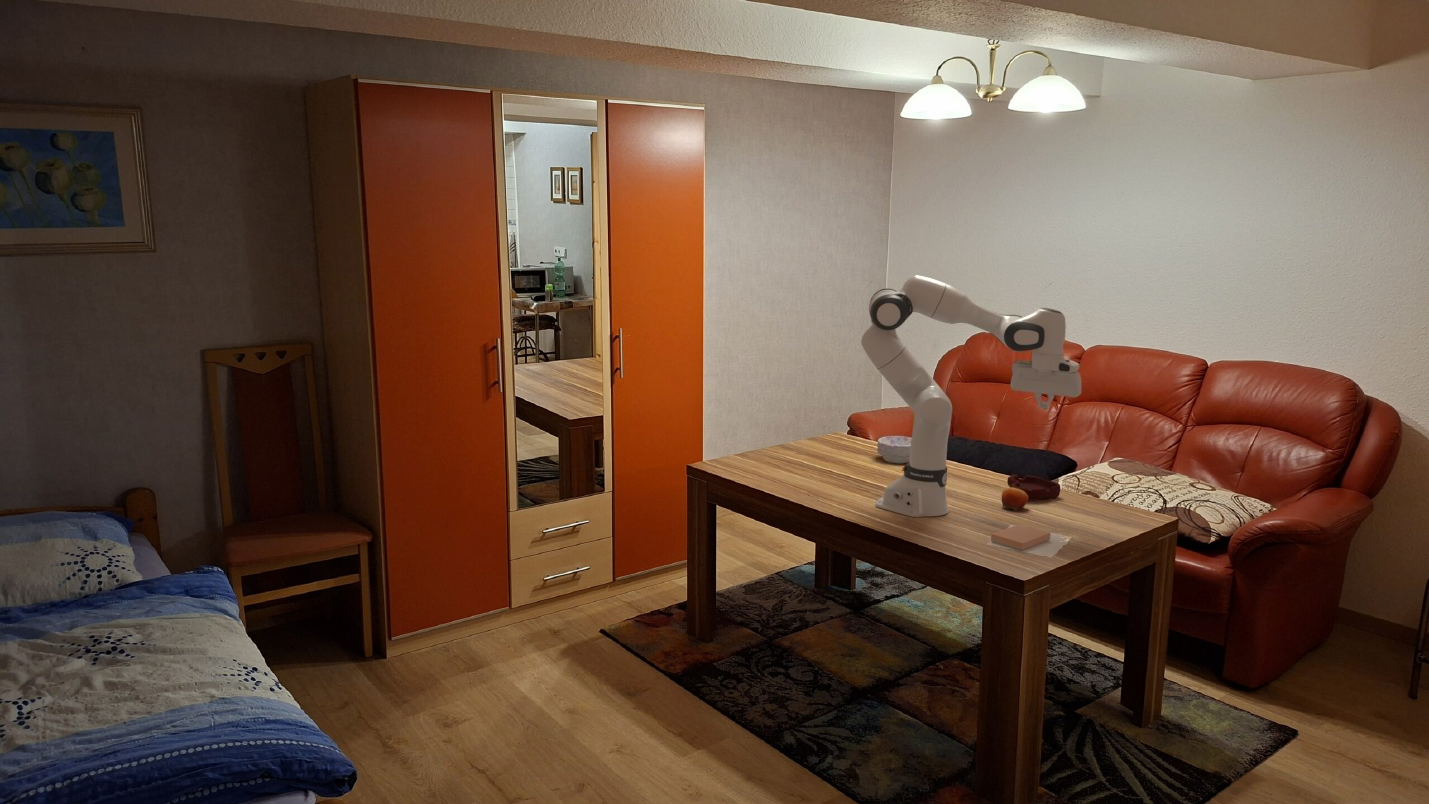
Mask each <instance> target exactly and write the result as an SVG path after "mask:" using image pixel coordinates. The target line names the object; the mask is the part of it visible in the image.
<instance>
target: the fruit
mask: <svg viewBox="0 0 1429 804" xmlns="http://www.w3.org/2000/svg"><path fill="white" fill-rule="evenodd" d="M1028 498H1029V497H1028V495H1027V494H1026V493H1025V492H1024V491H1022V490H1020V489H1017V488H1013V487H1011V488H1010V487H1009V488H1005V489H1003V490H1002V493H1001V503H1002V507H1003V508H1004V510H1007V509H1009V510H1010V509H1011V510H1013V511H1015V512H1017V511H1018V510H1020V511H1021V510H1022V509H1024V507H1025V506H1026V505H1027V503H1028V501H1029V500H1028Z"/></svg>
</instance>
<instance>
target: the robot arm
mask: <svg viewBox="0 0 1429 804" xmlns="http://www.w3.org/2000/svg"><path fill="white" fill-rule="evenodd" d="M869 300H870V301H869V304H868V305H869V306H868V313H869V317H870V321H871V325H870V327H869V328H868V329H867V330H865V332H864V333H863V334H862V336H861V341H860V343H861V346H862V348H863V350H864V352H865V354H866V355H867V357H868V359H869V360H870V361H871V362H872V364H873V366H874V367H875V368H876V369H877V370H878V371H879V373H880V374H881V375H882V377H883V378H885V380H886V381H887V382H888V384H889V385H890V386H891V388H893V389H894V391H895V392H896V393H897V394H898V395H899V396H900V397H901V399H903V401H904V402H905V403H906V404H907V405H908V406H909V408H910V409H911V410H912V412H913V415H914V416H913V426H912V434H911V437H910V438H911V449H910V462H908V463H906V465H904V466H903V467H902V468H901V472H903V475H901V476H900V477H898V478H896V479H894V480H893V481H892V482H890V483H888V485H887V486H886V487H885V490H884V492H883V493H884V494H883V496H882V497H880V498H878V499H877V500H876V503H875V506H876V507H877V508H880V509H884V510H887V511H890V512H894V513H898V514H901V515H905V516H908V517H912V518H921V517H939V516H944V515H947V514H948V513H949V512H950V510H949V507H948V501H947V500H948V499H947V491H946V486H947V482H948V467H947V453H948V442H949V440H948V439H949V435H950V430H951V425H952V424H951V422H952V415H953V405H952V402H951V400H950V398H949V397H948V395H947V394H946V393H945V391H943V388H941V387H940V385H939V384H938V383H937V382H936V380H935V379H934V378H933V377H932V375H931V374H930V373H929V372H928V371H927V370H926V368H924V365H922V364H921V363H920V361H919V360H918V359H917V358H916V357H915V355H914V354H913V353H912V351H910V349H909V348H908V346H907V345H905V344H906V343H904V342H903V341H902V340H901V338H900V337H899V335H898V333H897V331H896V329H898V328H900V327H901V326H902V325H903V324H904V323H905V322H906V321H907V319H908V318H910V316H911V315H912V314H913V313H917V314H918V313H919V314H922V315H924V316H926V317H928V318H930V319H932V320H934V321H938V322H942V323H945V324H949V325H954V324H961V323H962V324H967V325H971V326H973V327H975V328H978V329H981V330H983V331H985V332H987V333H990V334H991V335H993V336H994V337H996V339H997V340H998V341H999V342H1000V343H1001V344H1002V345H1003V346H1005V347H1007V348H1008V349H1009V350H1011V351H1013V352H1017V353H1019V352H1020V353H1022V352H1026V351H1032V354H1031V360H1021V359H1017V361H1014V362H1013V363H1012V364H1011V365H1012V366H1011V372H1012V376H1011V379H1010V388H1011V390H1012V391H1016V392H1025V393H1033V394H1034V397H1035V398H1036V401H1037V408H1038V409H1045V410H1046V409H1047V410H1049V409H1050V408H1051V407H1050V406H1051V405H1050V404H1051V402H1052V401H1053V399H1054V398H1055V396H1061V397H1069V398H1077V397H1079V396H1080V395H1081V394H1082V376H1081V373H1080V372H1079V369H1080V363H1078V362H1076V361H1074V360H1071V359H1069V358H1066V357H1064V356H1065V355H1064V354H1065V351H1064V343H1065V340H1066V332H1067V331H1066V328H1067V325H1066V324H1067V323H1066V317H1065V315H1064V313H1062V311H1060V310H1056V309H1052V308H1048V307H1039V308H1038V309H1036V310H1035V311H1033V312H1031V313H1030V314H1027V315H1024V316H1022V315H1019V314H1018V315H1017V314H1001V313H999V312H998V313H997V312H995V311H993V310H991V309H988V308H986V307H983V306H981V305H979V304H977V303H976V302H973V301H972V300H971V298H969V296H968V295H967V294H966V293H964V292H962V291H961V290H960V289H957V288H956V287H954V286H952V285H951V284H948V283H946V282H943V281H941V280H937V279H935V278H932V277H927V276H924V275H919V274H918V275H912V276H911V277H908V279H907V280H906V281H905V282H904V284H903V286H902V288H901V289H900V290H896V289H894V288H881V289H879V290H877V291H876V292H875V293H873V294H872V296H871V298H870V299H869ZM1042 395H1047V398H1048V400H1047V401H1043V400H1042Z"/></svg>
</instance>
